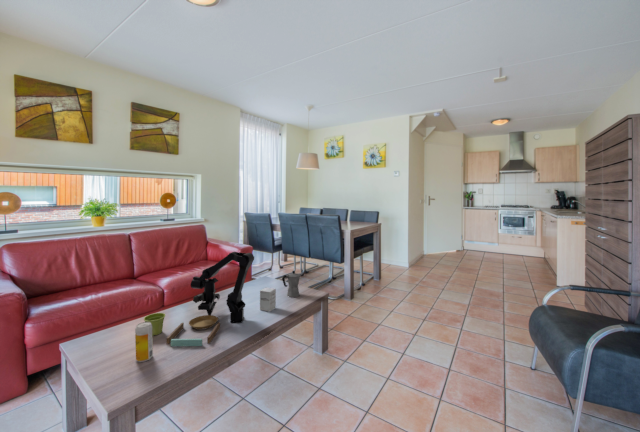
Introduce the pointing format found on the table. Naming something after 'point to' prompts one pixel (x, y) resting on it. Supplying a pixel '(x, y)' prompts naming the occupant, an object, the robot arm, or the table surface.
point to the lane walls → (183, 327)
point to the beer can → (143, 341)
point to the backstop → (186, 342)
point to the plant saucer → (203, 322)
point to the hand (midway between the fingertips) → (209, 315)
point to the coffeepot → (292, 284)
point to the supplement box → (267, 299)
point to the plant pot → (155, 322)
